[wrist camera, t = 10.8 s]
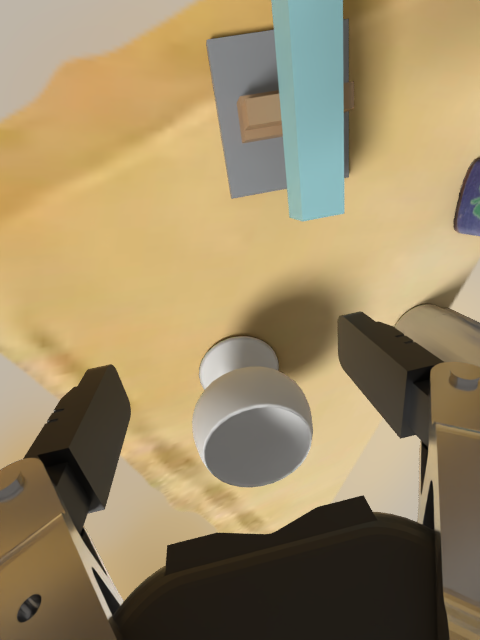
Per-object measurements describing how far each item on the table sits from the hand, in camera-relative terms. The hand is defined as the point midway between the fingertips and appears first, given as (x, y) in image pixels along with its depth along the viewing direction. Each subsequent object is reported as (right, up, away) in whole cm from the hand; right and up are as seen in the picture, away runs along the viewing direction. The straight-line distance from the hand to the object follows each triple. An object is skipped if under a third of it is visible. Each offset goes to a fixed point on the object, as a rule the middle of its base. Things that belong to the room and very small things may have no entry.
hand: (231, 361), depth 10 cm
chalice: (0, -6, +34) cm, 35 cm away
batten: (+6, +21, +16) cm, 27 cm away
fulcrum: (+5, +23, +21) cm, 32 cm away
